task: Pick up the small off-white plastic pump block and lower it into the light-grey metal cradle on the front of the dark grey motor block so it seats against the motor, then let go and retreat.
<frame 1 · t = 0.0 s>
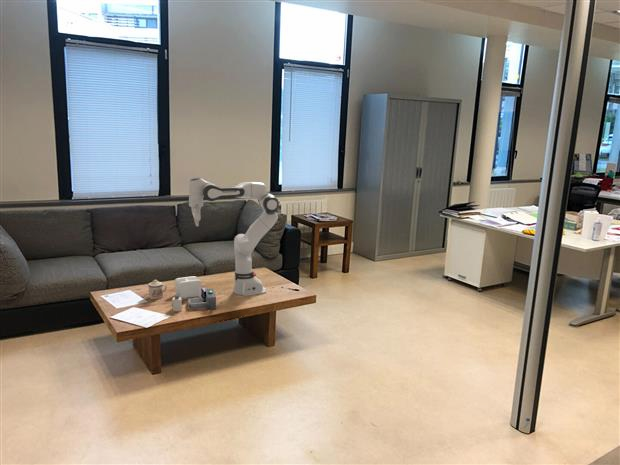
hand: (196, 224, 314), 48 cm above the table, fingers open, 8 cm apart
cable organizer: (188, 295, 323), on the table
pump: (177, 309, 299), on the table
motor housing: (201, 305, 307), on the table
teacup with lid: (158, 296, 319), on the table
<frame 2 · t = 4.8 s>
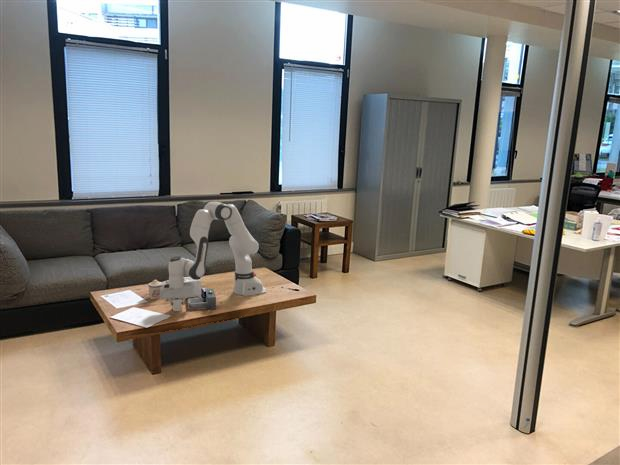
hand: (177, 304, 299), 3 cm above the table, fingers closed on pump, 5 cm apart
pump: (177, 309, 299), on the table, touching gripper
everything else where it was.
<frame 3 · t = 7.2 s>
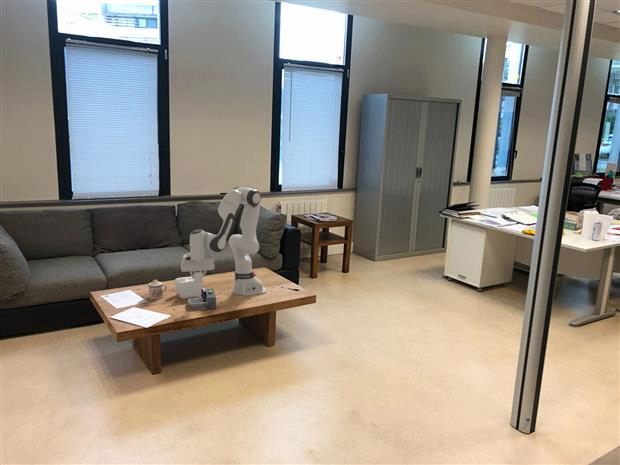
hand: (198, 277, 302), 19 cm above the table, fingers closed on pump, 5 cm apart
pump: (198, 282, 303), point 16 cm above the table, touching gripper
everything else where it was.
when the fingers open (6 cm above the table, at t = 10.1 s): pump drops 1 cm, resting on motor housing.
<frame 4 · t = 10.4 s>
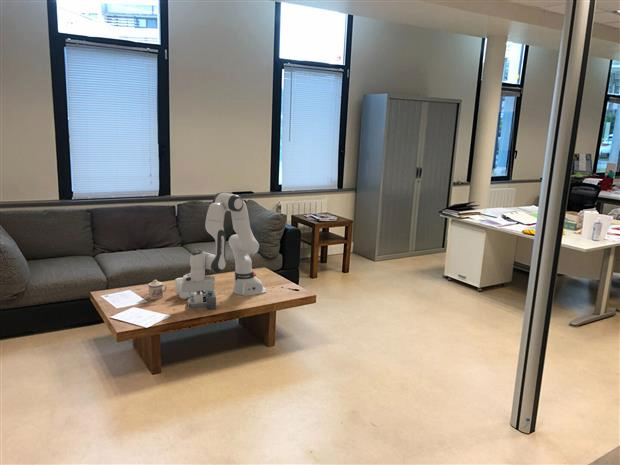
hand: (198, 297, 305), 6 cm above the table, fingers open, 7 cm apart
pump: (198, 304, 306), point 1 cm above the table, touching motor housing
everything else where it was.
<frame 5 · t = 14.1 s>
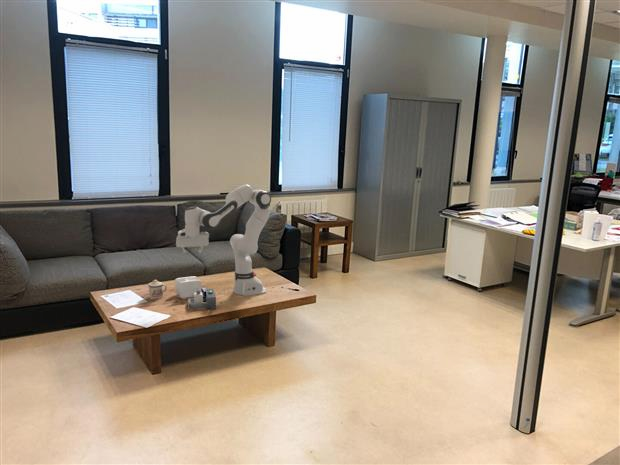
hand: (192, 253, 309), 31 cm above the table, fingers open, 8 cm apart
nothing on the table moved.
at the end: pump inside the target area (0.4 cm from its centre), point 1.0 cm above the table; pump tilted 0°; the gripper is holding nothing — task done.
